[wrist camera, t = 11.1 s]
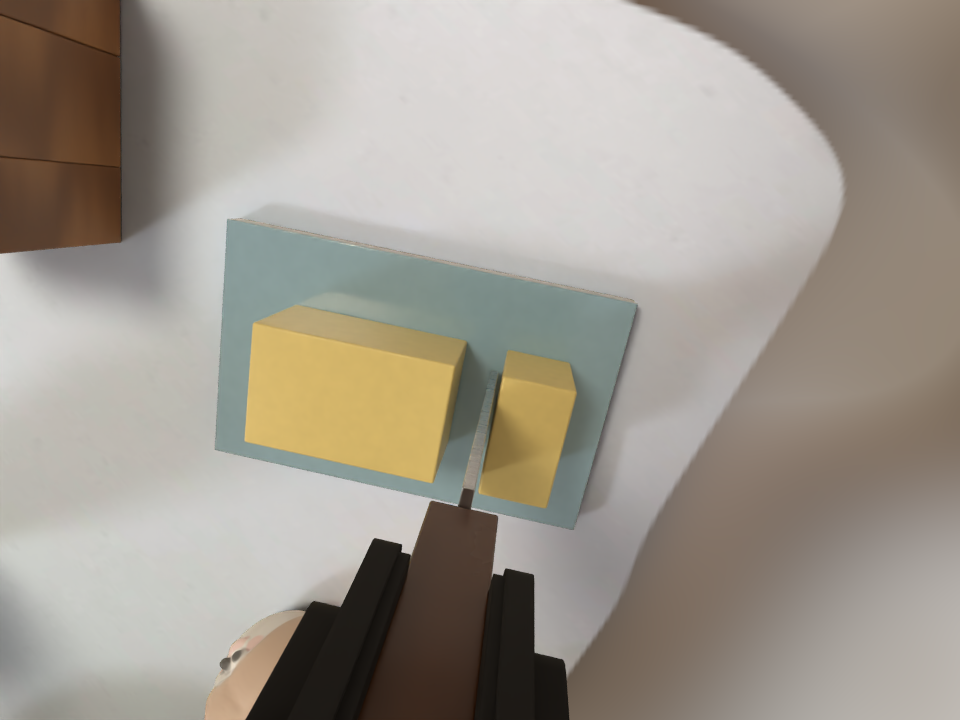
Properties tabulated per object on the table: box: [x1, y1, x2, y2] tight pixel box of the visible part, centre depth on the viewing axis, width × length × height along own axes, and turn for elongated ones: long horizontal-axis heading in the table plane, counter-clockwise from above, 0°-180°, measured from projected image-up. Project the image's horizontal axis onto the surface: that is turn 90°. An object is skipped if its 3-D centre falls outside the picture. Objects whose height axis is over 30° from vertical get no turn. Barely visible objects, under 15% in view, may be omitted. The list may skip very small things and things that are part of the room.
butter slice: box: [478, 350, 577, 508], centre depth 20 cm, size 4×2×4 cm, turn 169°
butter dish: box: [215, 218, 637, 530], centre depth 22 cm, size 10×16×1 cm, turn 79°
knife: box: [358, 370, 499, 720], centre depth 13 cm, size 3×2×17 cm, turn 169°
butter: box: [244, 305, 467, 483], centre depth 20 cm, size 4×7×4 cm, turn 79°
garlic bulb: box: [204, 610, 306, 720], centre depth 23 cm, size 7×6×8 cm
